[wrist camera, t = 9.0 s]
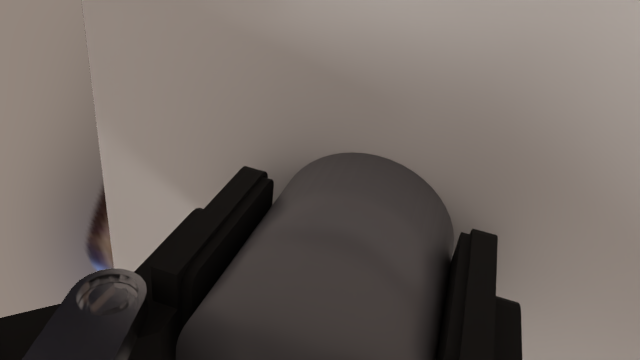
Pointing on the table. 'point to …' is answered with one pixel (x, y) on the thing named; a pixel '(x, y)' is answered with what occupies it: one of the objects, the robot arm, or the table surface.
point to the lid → (381, 164)
